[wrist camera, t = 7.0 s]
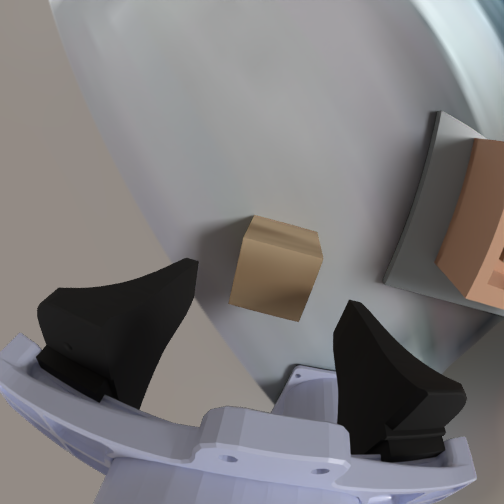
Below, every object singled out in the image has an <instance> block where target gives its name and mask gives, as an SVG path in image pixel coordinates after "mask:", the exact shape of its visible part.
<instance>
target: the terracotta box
mask: <svg viewBox="0 0 504 504" xmlns="http://www.w3.org/2000/svg"><path fill="white" fill-rule="evenodd" d="M503 248H504V142H503V141H496V140H488V139H480V138H474V142H473V147H472V151H471V156H470V160H469V164H468V168H467V172H466V175H465V179H464V182H463V186H462V189H461V192H460V196H459V199H458V202H457V205H456V208H455V211H454V214H453V216H452V219H451V222H450V225H449V227H448V230H447V233H446V235H445V238H444V240H443V243H442V245H441V247H440V250H439V252H438V254H437V257H436V259H435V261H434V263H435V264H436V265H437V266H438V267H439V269H440V270H441V271H442V272H443V273H444V274H445V275H446V276H447V277H448V279H449V280H450V281H451V282H452V283H453V284H454V286H455V287H456V288H457V289H458V290H459V291H460V293H461V294H462V295H463V296H464V297H465V298H466V299H469V300H473V301H476V302H480V303H483V304H486V305H490V306H493V307H497V308H500V309H504V263H503V262H502V261H501V260H499V257H500V255H501V252H502V250H503Z"/></svg>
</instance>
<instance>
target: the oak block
mask: <svg viewBox="0 0 504 504" xmlns="http://www.w3.org/2000/svg"><path fill="white" fill-rule="evenodd" d="M322 261H323V255H322V250H321V246H320V242H319V237H318V233H317V232H315V231H311V230H308V229H304V228H301V227H297V226H294V225H290V224H286V223H283V222H279V221H275V220H271V219H268V218H264V217H260V216H256V215H254V217H253V219H252V221H251V223H250V225H249V227H248V229H247V231H246V233H245V235H244V237H243V242H242V246H241V250H240V255H239V259H238V264H237V268H236V272H235V277H234V281H233V286H232V290H231V295H230V299H229V303H228V304H231V305H235V306H238V307H242V308H246V309H249V310H253V311H257V312H261V313H265V314H268V315H272V316H276V317H280V318H284V319H288V320H292V321H297V322H299V320H300V318H301V315H302V313H303V310H304V308H305V305H306V303H307V301H308V298H309V295H310V293H311V290H312V288H313V285H314V283H315V280H316V277H317V275H318V272H319V270H320V267H321V264H322Z"/></svg>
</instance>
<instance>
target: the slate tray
mask: <svg viewBox="0 0 504 504" xmlns="http://www.w3.org/2000/svg"><path fill="white" fill-rule="evenodd" d="M474 138H480V139H486V138H485V137H483V136H482V135H481V134H479V133H478V132H476V131H475V130H473V129H472V128H470V127H468V126H467V125H465V124H464V123H462V122H460V121H459V120H457V119H455V118H454V117H452V116H450V115H449V114H447V113H445V112H443V111H437V115H436V121H435V125H434V130H433V134H432V139H431V143H430V147H429V151H428V155H427V159H426V163H425V166H424V170H423V173H422V177H421V180H420V183H419V187H418V190H417V193H416V196H415V199H414V202H413V205H412V208H411V211H410V214H409V217H408V219H407V222H406V225H405V228H404V230H403V233H402V235H401V238H400V241H399V243H398V246H397V248H396V250H395V253H394V255H393V258H392V260H391V262H390V265H389V267H388V269H387V272H386V274H385V276H384V278H383V282H384V284H385V285H388V286H392V287H395V288H399V289H403V290H407V291H411V292H415V293H418V294H422V295H426V296H430V297H434V298H437V299H441V300H445V301H449V302H452V303H456V304H460V305H464V306H468V307H471V308H475V309H479V310H483V311H487V312H490V313H494V314H498V315H502V316H504V309H500V308H497V307H493V306H490V305H486V304H483V303H480V302H476V301H473V300H469V299H466V298H465V297H464V296H463V295H462V294H461V293H460V291H459V290H458V289H457V288H456V287H455V286H454V284H453V283H452V282H451V281H450V280H449V279H448V277H447V276H446V275H445V274H444V273H443V272H442V271H441V270H440V269H439V267H438V266H437V265H436V264H435V263H434V261H435V259H436V257H437V254H438V252H439V250H440V247H441V245H442V243H443V240H444V238H445V235H446V233H447V230H448V227H449V225H450V222H451V219H452V216H453V214H454V211H455V208H456V205H457V202H458V199H459V196H460V192H461V189H462V186H463V182H464V179H465V175H466V172H467V168H468V164H469V160H470V156H471V151H472V147H473V142H474Z"/></svg>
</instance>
